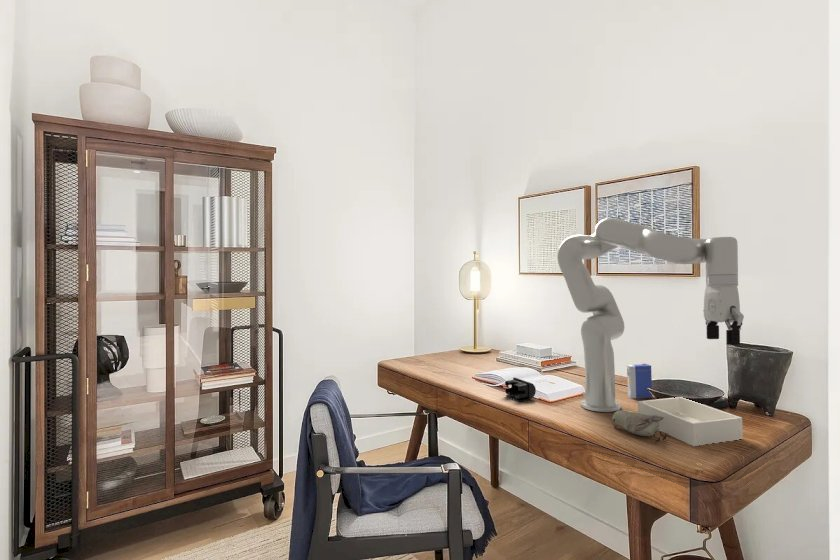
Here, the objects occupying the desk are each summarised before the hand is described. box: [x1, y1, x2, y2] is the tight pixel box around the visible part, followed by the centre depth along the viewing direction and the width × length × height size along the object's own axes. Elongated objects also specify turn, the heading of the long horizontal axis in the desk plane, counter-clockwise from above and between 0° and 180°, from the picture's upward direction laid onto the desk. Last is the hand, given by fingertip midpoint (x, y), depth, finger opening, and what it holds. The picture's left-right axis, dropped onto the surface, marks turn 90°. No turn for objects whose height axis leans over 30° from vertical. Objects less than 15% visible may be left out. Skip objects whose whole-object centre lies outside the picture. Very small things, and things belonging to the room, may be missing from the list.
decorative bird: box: [611, 409, 668, 445], centre depth 129 cm, size 5×16×8 cm, turn 29°
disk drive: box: [688, 393, 729, 409], centre depth 155 cm, size 10×3×15 cm
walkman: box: [626, 363, 653, 399], centre depth 166 cm, size 8×3×12 cm, turn 90°
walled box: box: [637, 396, 744, 447], centre depth 132 cm, size 22×16×6 cm
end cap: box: [504, 377, 537, 403], centre depth 170 cm, size 10×7×7 cm
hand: (722, 341), depth 128 cm, fingers open, 9 cm apart
